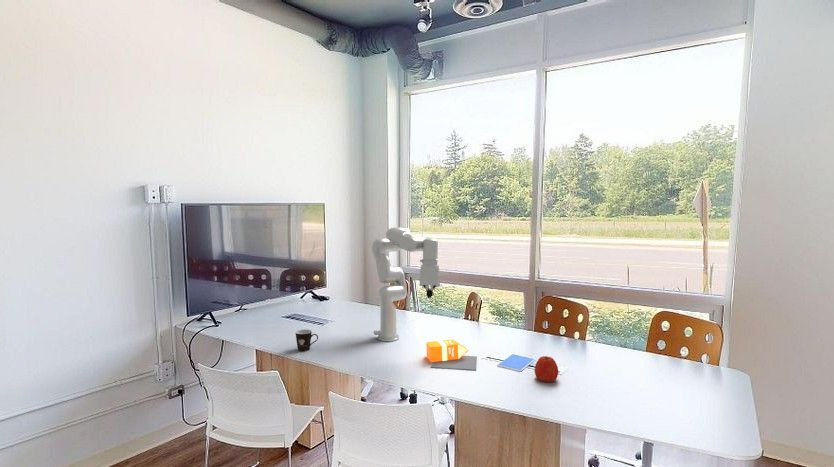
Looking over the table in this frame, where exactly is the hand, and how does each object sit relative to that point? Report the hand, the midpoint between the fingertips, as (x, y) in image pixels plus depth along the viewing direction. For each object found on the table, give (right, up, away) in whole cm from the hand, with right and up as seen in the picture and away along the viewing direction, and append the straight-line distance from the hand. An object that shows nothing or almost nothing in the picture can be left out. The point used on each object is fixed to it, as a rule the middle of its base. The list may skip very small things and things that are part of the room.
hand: (429, 297), depth 211 cm
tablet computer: (+43, -33, -7) cm, 55 cm away
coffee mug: (-67, -31, +12) cm, 75 cm away
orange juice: (-1, -28, -2) cm, 28 cm away
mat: (+12, -32, -6) cm, 34 cm away
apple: (+52, -33, -26) cm, 67 cm away
